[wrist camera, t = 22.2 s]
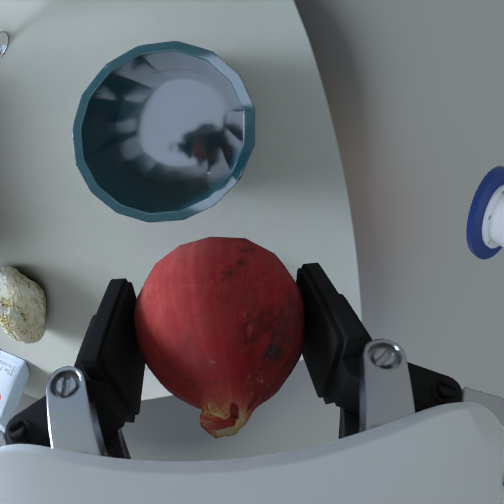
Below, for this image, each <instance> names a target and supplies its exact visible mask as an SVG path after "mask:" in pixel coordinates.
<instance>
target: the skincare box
mask: <svg viewBox="0 0 504 504" xmlns="http://www.w3.org/2000/svg"><path fill="white" fill-rule="evenodd" d="M29 376H30V373H29V370H28V367H27V364H26V362H25V360H22V359H20V358H18V357H15V356H13V355H11V354H8V353H6V352H4V351H2V350H0V430H1V431H4V432H5V429H6V426H7V424H8V422H9V420H10V419H11V418H13V416H14V413H15V410H16V408H17V406H18V403H19V400H20V398H21V394H22V392H23V389H24V387H25V385H26V382H27V380H28V378H29Z"/></svg>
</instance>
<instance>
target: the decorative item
mask: <svg viewBox="0 0 504 504" xmlns="http://www.w3.org/2000/svg"><path fill="white" fill-rule="evenodd" d="M45 316H46V297H45V295H44V291H43V290H42V288H41V287H40V286H39V285H38V284H37V283H36V282H34V281H32V280H30V279H29V278H27V277H26V276H24V275H23V274H20V273H19V271H18V270H17V269H15V268H13V267H9V266H8V267H2V268H0V325H1V327H2V328H3V329H4V331H5V332H6V333H7V334H8V335H9V336H10V337H11V338H13V339H14V340H16V341H18V342H21V341H22V342H24V343H34V342H37V341H39V340H40V339H41V338H42V336H43V335H44V332H45V330H46V328H45V325H44V324H45Z"/></svg>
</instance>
